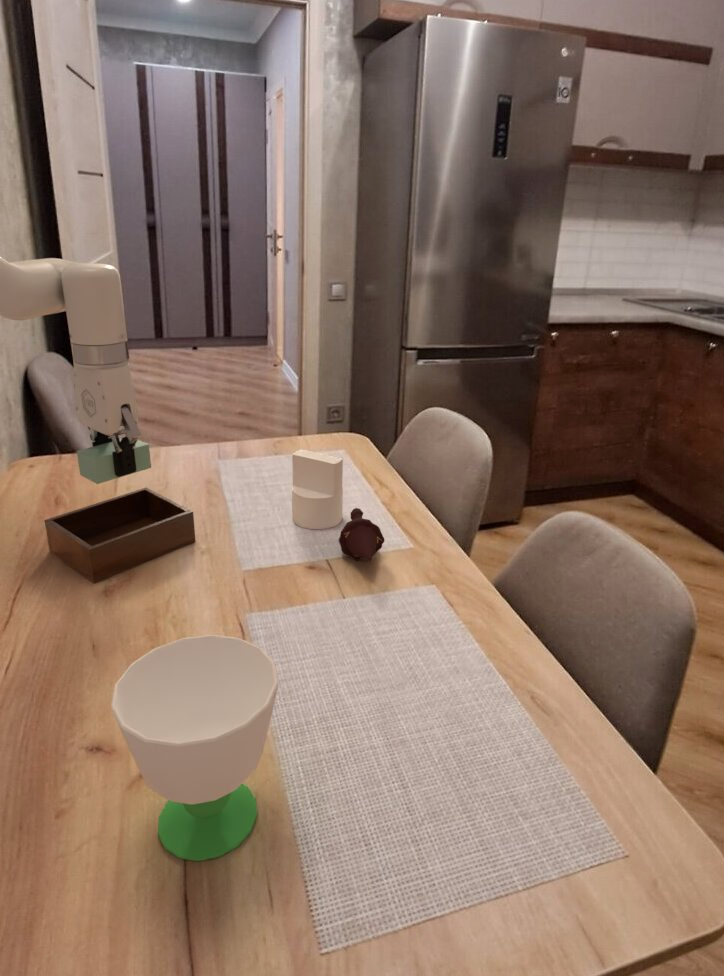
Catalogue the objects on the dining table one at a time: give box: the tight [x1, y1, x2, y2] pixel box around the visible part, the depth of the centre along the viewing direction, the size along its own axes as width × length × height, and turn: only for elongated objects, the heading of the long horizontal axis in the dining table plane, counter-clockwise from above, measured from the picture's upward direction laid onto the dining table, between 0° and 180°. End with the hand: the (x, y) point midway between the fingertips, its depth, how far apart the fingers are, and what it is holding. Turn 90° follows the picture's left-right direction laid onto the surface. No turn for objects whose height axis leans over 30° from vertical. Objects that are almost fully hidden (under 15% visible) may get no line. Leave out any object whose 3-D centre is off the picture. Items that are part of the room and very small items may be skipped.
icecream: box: [338, 507, 385, 562], centre depth 108 cm, size 7×7×15 cm
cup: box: [110, 634, 279, 862], centre depth 60 cm, size 14×14×16 cm
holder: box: [44, 486, 196, 584], centre depth 107 cm, size 14×18×6 cm
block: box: [76, 438, 152, 485], centre depth 103 cm, size 5×9×4 cm, turn 141°
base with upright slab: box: [291, 448, 344, 530], centre depth 119 cm, size 9×9×12 cm
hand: (115, 467), depth 103 cm, fingers closed on block, 5 cm apart
